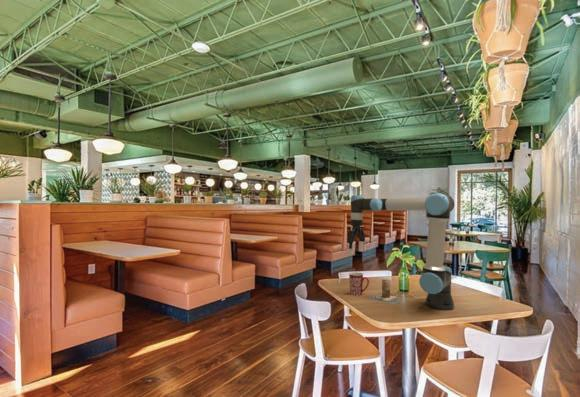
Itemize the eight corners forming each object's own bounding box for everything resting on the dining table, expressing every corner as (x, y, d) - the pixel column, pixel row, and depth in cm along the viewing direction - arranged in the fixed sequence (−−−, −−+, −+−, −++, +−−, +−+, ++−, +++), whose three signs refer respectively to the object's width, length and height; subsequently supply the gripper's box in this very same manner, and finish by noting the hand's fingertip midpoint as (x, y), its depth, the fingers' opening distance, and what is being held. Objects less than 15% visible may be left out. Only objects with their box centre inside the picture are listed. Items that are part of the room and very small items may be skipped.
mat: (403, 299, 196) (403, 298, 196) (393, 305, 184) (393, 304, 184) (378, 294, 206) (378, 293, 206) (368, 299, 194) (368, 298, 194)
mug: (346, 295, 202) (347, 274, 202) (350, 292, 210) (351, 271, 210) (366, 298, 196) (366, 276, 196) (370, 295, 204) (370, 273, 204)
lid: (399, 298, 196) (399, 280, 196) (391, 303, 187) (392, 284, 187) (380, 294, 204) (380, 277, 204) (372, 298, 194) (372, 280, 194)
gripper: (360, 218, 217) (359, 249, 217) (341, 219, 198) (341, 254, 197) (370, 219, 213) (370, 251, 212) (352, 220, 193) (352, 255, 193)
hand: (356, 252), depth 205 cm, fingers open, 13 cm apart
